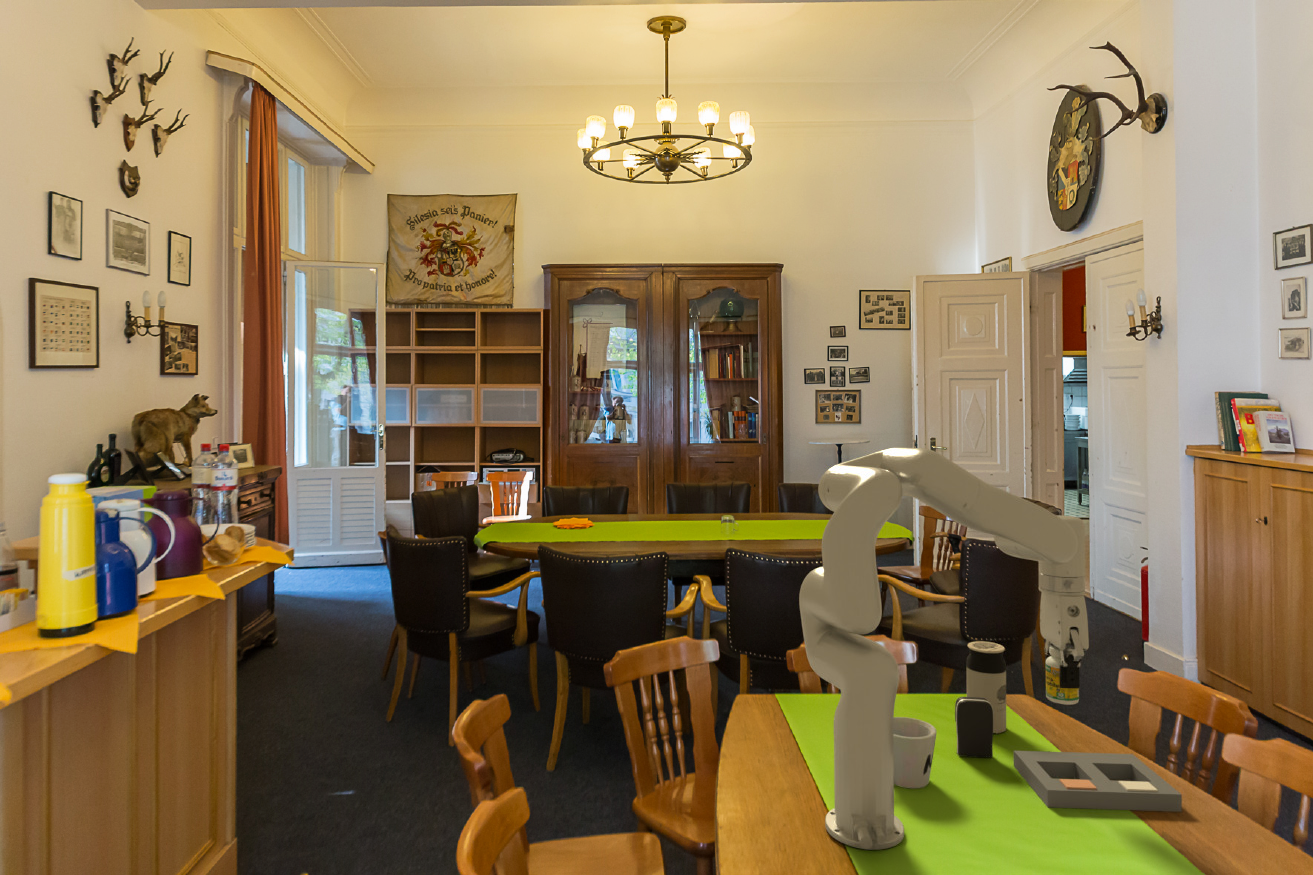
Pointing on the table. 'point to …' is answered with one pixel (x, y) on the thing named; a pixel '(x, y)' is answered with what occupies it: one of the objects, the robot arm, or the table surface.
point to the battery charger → (974, 727)
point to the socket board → (1096, 781)
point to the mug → (912, 751)
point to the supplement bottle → (1058, 680)
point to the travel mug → (988, 679)
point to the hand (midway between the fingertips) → (1062, 680)
